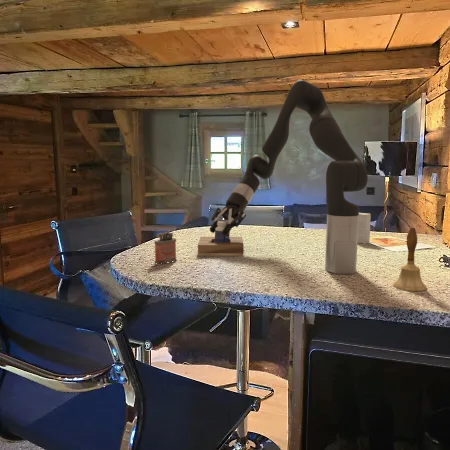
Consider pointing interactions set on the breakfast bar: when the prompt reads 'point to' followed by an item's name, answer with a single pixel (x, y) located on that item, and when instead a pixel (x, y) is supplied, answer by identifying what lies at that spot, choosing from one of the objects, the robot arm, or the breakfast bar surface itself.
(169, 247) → the lighter
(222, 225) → the pill bottle
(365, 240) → the skincare box
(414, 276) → the hand bell
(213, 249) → the socket block
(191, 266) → the breakfast bar surface
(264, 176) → the robot arm
